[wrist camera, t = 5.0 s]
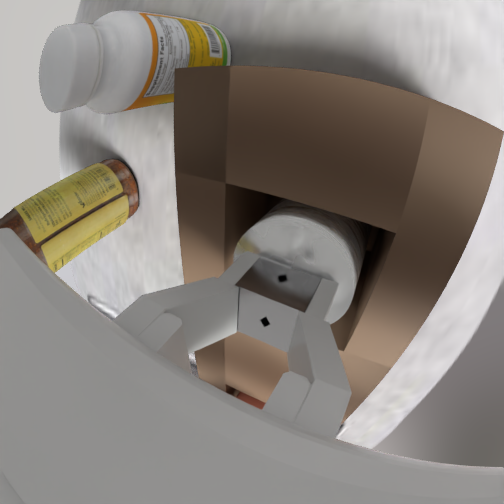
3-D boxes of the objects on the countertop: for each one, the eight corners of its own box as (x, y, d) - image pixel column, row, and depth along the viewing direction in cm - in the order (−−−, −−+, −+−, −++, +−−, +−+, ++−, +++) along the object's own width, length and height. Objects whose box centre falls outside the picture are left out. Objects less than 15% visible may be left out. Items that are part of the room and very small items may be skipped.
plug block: (277, 76, 13) (174, 68, 7) (445, 115, 10) (504, 131, 4) (250, 353, 27) (206, 415, 21) (333, 387, 23) (302, 459, 17)
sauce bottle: (97, 160, 23) (-72, 260, 9) (133, 151, 20) (-82, 276, 6) (114, 219, 26) (-36, 329, 12) (151, 222, 24) (-31, 362, 9)
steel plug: (307, 156, 13) (235, 204, 8) (384, 178, 12) (371, 247, 7) (296, 225, 16) (232, 302, 10) (364, 247, 14) (333, 343, 9)
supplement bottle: (157, 82, 16) (29, 107, 9) (184, 15, 12) (47, 8, 5) (212, 112, 16) (71, 149, 8) (248, 37, 12) (98, 13, 5)
